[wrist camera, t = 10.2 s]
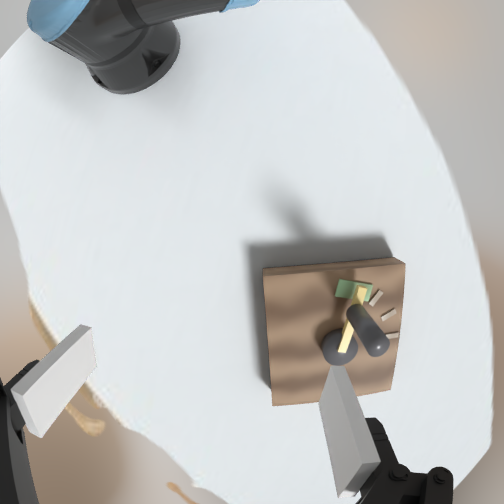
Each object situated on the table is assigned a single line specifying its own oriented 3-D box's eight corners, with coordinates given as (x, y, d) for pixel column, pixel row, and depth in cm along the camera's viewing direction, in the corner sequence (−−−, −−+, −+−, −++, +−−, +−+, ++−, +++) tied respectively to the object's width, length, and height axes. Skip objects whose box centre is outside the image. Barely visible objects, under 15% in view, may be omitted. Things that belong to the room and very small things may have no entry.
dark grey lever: (316, 356, 40) (331, 406, 29) (340, 279, 38) (368, 312, 27) (348, 360, 40) (369, 408, 29) (374, 285, 38) (409, 318, 27)
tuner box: (262, 268, 42) (262, 277, 38) (394, 257, 41) (406, 264, 37) (272, 391, 47) (272, 407, 43) (383, 377, 46) (391, 390, 41)
